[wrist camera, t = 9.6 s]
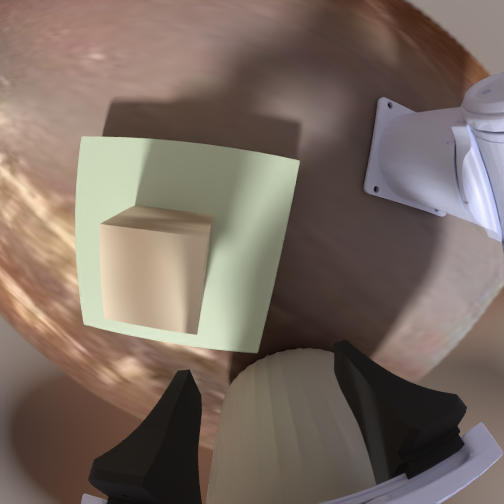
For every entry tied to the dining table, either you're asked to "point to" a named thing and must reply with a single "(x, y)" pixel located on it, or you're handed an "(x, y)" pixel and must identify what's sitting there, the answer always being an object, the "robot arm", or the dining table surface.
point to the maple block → (155, 267)
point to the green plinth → (200, 201)
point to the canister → (288, 435)
